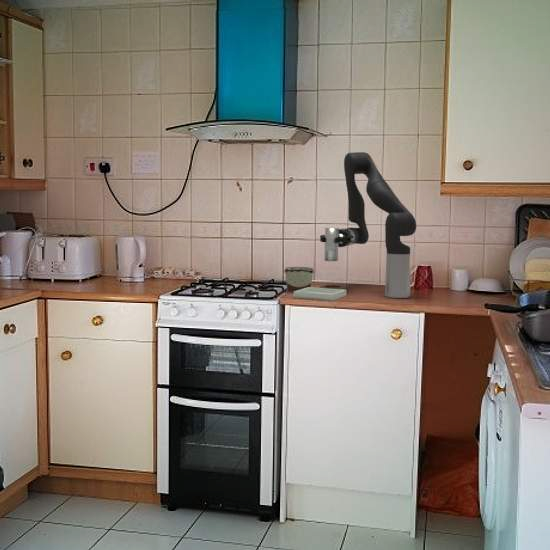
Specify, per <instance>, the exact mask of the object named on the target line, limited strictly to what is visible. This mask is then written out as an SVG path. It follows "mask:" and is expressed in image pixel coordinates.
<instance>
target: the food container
mask: <svg viewBox="0 0 550 550" xmlns="http://www.w3.org/2000/svg"><path fill="white" fill-rule="evenodd" d="M283 273H284V274H285V280H286V282H285V283H286V292H287V293H290V292H294V291H297V290H301V289H304V288H307V287H312V283H313V274H315V270H314V268H313V267H307V266H289V267H288V266H287V267H285V268H284V271H283Z"/></svg>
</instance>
